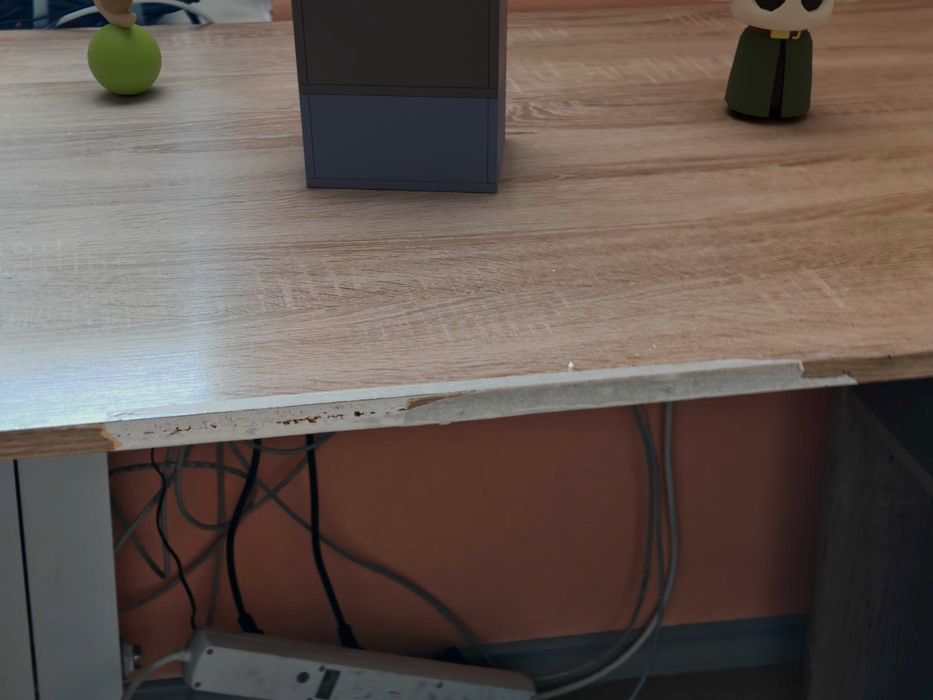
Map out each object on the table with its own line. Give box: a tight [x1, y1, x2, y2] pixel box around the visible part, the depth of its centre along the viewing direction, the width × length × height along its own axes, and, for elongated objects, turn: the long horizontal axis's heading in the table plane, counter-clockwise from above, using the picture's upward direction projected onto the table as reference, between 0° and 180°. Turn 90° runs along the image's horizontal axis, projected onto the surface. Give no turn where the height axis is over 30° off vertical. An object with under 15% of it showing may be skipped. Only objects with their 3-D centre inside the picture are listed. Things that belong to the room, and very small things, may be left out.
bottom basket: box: [298, 52, 508, 194], centre depth 70 cm, size 12×10×6 cm
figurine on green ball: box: [86, 0, 163, 96], centre depth 82 cm, size 5×6×12 cm
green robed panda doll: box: [709, 0, 859, 119], centre depth 77 cm, size 11×7×13 cm, turn 87°
